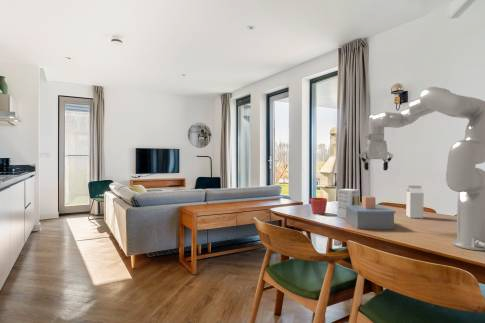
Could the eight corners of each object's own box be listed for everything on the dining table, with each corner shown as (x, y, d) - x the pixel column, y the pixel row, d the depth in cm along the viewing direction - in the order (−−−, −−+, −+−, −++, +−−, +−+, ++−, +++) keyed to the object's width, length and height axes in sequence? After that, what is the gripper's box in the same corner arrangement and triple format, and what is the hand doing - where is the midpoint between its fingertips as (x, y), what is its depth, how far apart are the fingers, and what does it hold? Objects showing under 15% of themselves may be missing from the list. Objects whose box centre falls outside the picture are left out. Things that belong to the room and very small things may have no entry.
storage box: (393, 229, 150) (394, 213, 150) (357, 228, 151) (357, 212, 150) (378, 221, 168) (378, 207, 168) (345, 221, 169) (346, 207, 168)
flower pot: (309, 214, 188) (309, 199, 188) (310, 211, 199) (310, 197, 198) (326, 215, 185) (327, 200, 185) (327, 212, 195) (327, 197, 195)
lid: (395, 215, 150) (395, 199, 149) (356, 215, 150) (357, 199, 150) (379, 209, 169) (379, 194, 168) (344, 209, 169) (344, 194, 169)
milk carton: (423, 218, 176) (423, 186, 176) (410, 218, 178) (410, 186, 178) (418, 216, 183) (419, 185, 183) (406, 215, 185) (406, 185, 185)
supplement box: (351, 219, 173) (351, 190, 173) (337, 217, 180) (337, 189, 180) (359, 217, 179) (359, 189, 179) (345, 215, 186) (345, 188, 186)
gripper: (362, 137, 157) (361, 170, 157) (396, 137, 156) (395, 170, 156) (357, 138, 164) (357, 169, 164) (389, 138, 163) (389, 170, 164)
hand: (375, 170), depth 160 cm, fingers open, 9 cm apart
